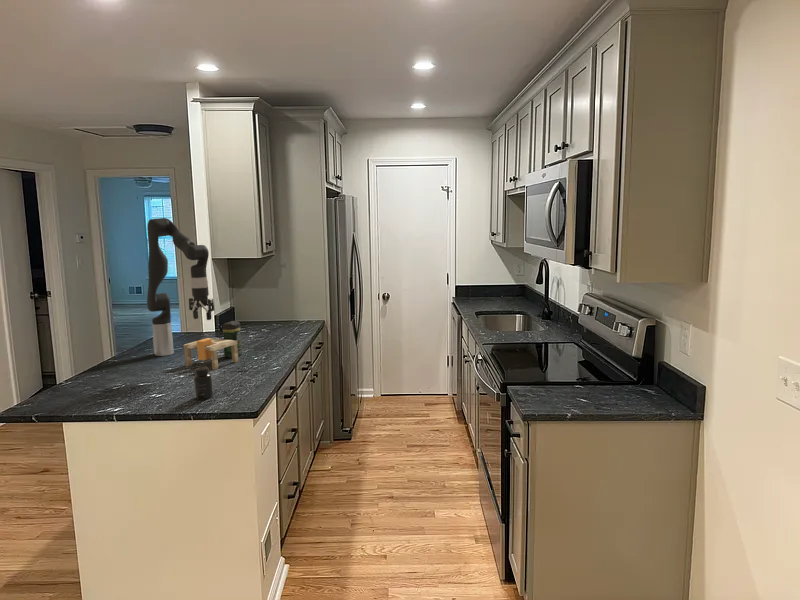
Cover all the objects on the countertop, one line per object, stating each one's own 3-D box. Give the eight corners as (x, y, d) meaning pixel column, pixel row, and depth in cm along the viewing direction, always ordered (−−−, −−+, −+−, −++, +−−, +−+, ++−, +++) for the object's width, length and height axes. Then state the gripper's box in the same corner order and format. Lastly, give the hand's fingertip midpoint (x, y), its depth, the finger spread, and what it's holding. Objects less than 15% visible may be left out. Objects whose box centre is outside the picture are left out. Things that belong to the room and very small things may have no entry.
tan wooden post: (198, 359, 263) (196, 341, 261) (207, 356, 268) (205, 338, 266) (204, 360, 261) (202, 341, 260) (213, 357, 266) (211, 339, 265)
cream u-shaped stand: (185, 365, 266) (183, 344, 264) (209, 358, 280) (207, 338, 278) (215, 369, 257) (213, 347, 255) (238, 361, 271) (237, 340, 270)
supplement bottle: (198, 395, 219) (195, 366, 217) (215, 394, 220) (213, 365, 218) (193, 400, 212) (190, 371, 211) (210, 399, 213) (208, 370, 211)
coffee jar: (236, 358, 278) (233, 323, 275) (222, 358, 279) (219, 323, 276) (244, 353, 287) (242, 319, 284) (231, 353, 289) (228, 319, 286)
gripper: (183, 287, 259) (185, 319, 261) (204, 287, 253) (207, 321, 255) (195, 285, 266) (197, 317, 268) (216, 286, 259) (219, 318, 262)
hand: (202, 319), depth 262 cm, fingers open, 8 cm apart
